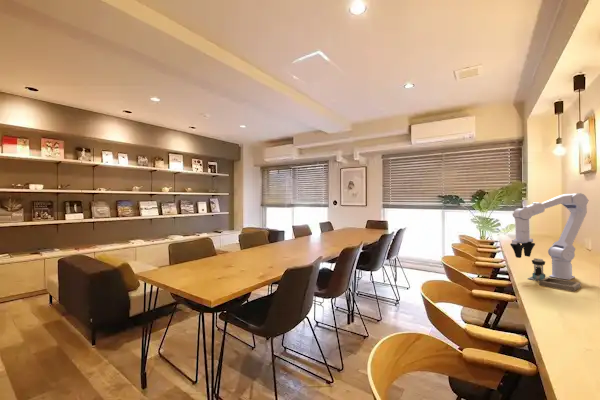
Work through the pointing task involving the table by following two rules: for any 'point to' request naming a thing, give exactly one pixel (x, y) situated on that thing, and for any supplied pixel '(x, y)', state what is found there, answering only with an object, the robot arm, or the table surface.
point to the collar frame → (560, 284)
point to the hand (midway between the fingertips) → (522, 256)
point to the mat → (533, 279)
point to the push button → (538, 269)
